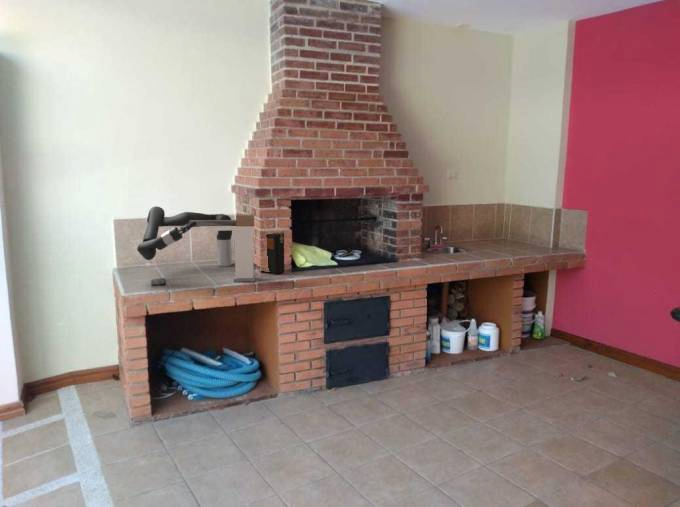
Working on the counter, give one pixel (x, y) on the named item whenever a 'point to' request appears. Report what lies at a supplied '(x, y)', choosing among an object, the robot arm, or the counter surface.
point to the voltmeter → (275, 252)
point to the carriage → (228, 221)
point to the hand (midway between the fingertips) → (196, 221)
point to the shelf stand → (241, 251)
